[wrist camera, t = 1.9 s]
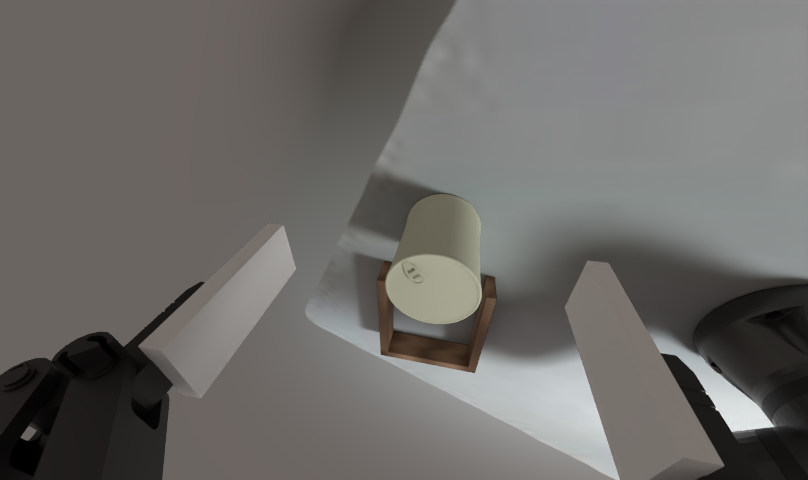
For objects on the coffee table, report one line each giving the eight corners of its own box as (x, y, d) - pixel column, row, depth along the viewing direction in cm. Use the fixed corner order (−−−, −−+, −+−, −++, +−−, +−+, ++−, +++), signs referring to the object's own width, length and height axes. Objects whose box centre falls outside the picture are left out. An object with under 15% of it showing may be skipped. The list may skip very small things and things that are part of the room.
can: (453, 179, 33) (443, 240, 23) (495, 236, 36) (502, 311, 26) (392, 217, 37) (363, 281, 28) (434, 265, 40) (421, 338, 31)
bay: (494, 277, 39) (496, 298, 36) (475, 350, 49) (474, 372, 46) (384, 261, 42) (377, 280, 39) (386, 334, 52) (381, 354, 49)
